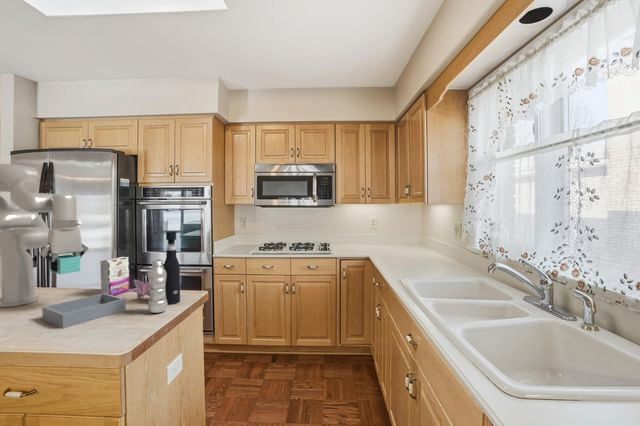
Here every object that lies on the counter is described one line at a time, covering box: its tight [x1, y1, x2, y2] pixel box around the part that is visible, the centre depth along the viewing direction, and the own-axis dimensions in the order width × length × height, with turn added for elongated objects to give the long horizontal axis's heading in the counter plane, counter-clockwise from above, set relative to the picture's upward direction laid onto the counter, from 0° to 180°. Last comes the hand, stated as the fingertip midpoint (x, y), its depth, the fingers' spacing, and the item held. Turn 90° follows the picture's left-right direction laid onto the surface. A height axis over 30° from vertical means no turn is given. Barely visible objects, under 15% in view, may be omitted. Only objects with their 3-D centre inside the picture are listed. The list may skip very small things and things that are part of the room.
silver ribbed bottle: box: [147, 259, 168, 314], centre depth 116 cm, size 6×7×20 cm
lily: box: [127, 279, 150, 299], centre depth 130 cm, size 12×12×10 cm
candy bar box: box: [99, 256, 131, 296], centre depth 140 cm, size 11×5×16 cm, turn 168°
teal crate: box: [50, 254, 81, 275], centre depth 121 cm, size 8×6×6 cm
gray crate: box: [42, 293, 127, 329], centre depth 113 cm, size 16×20×4 cm
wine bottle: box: [162, 231, 181, 306], centre depth 128 cm, size 6×6×30 cm
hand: (65, 269), depth 121 cm, fingers closed on teal crate, 6 cm apart
